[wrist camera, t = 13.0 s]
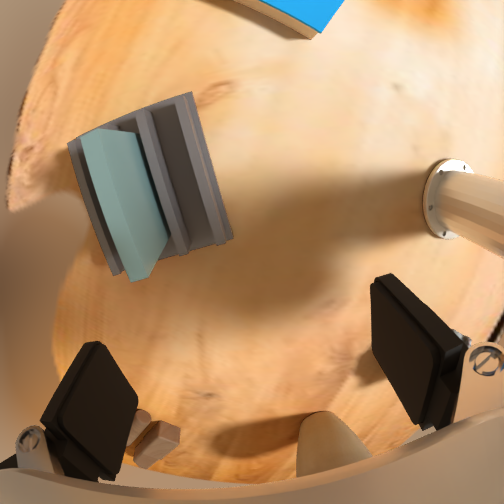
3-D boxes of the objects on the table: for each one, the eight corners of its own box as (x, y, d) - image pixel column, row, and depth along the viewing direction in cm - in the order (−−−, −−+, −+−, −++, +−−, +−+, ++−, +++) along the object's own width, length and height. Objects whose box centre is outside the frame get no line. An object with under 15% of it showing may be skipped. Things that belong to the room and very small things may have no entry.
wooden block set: (182, 447, 43) (147, 474, 47) (183, 424, 48) (149, 455, 52) (94, 410, 38) (76, 444, 42) (103, 387, 43) (83, 426, 48)
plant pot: (284, 446, 53) (297, 505, 38) (280, 408, 48) (297, 480, 33) (349, 430, 54) (371, 485, 39) (356, 390, 49) (388, 453, 34)
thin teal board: (143, 134, 29) (97, 128, 17) (173, 230, 34) (148, 277, 22) (130, 138, 29) (80, 136, 17) (161, 234, 34) (130, 282, 22)
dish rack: (192, 93, 29) (187, 84, 25) (233, 236, 36) (234, 250, 31) (79, 137, 29) (60, 137, 25) (123, 268, 36) (111, 284, 31)
